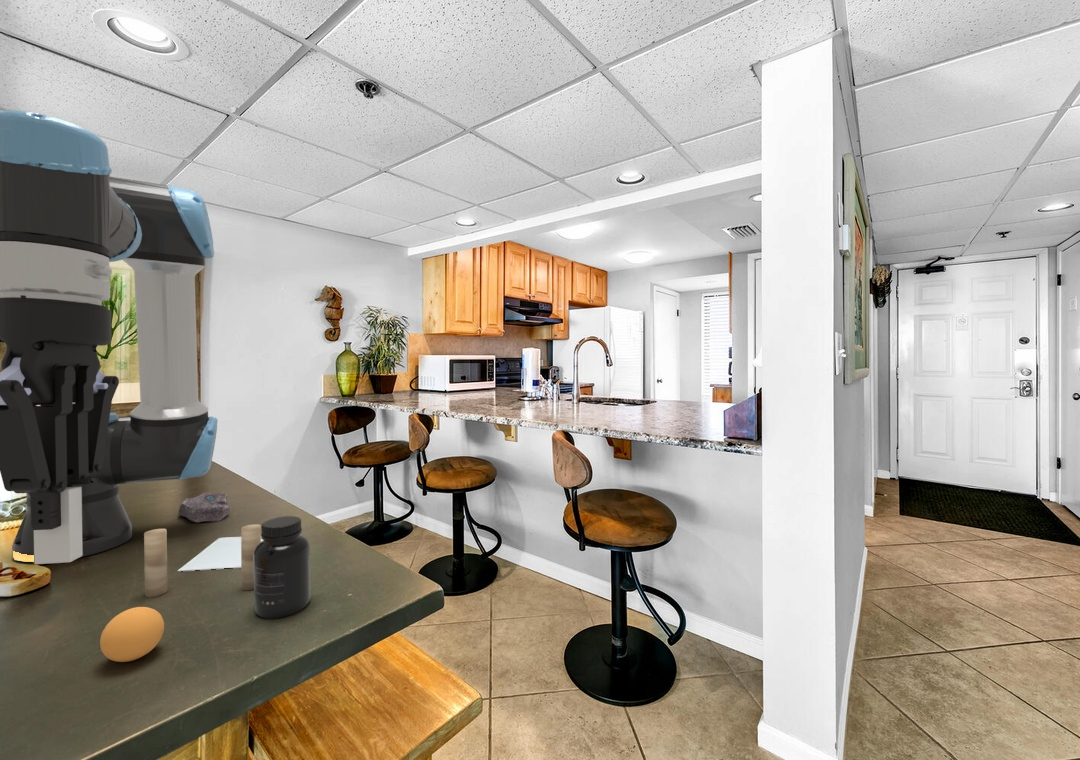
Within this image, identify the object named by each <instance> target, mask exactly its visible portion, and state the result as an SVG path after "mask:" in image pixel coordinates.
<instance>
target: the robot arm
mask: <svg viewBox="0 0 1080 760" xmlns="http://www.w3.org/2000/svg"><path fill="white" fill-rule="evenodd" d="M112 173H113V170H112V168H111V167H110V160H109V150H108V147H107V144H106V143H105V142H104V140H102V139H101V137H99V136H98V135H96V133H94V132H92V131H90V130H88V129H87V128H85V127H82V126H80V125H78V124H76V123H72V122H70V121H67V120H65V119H61V118H57V117H54V116H50V115H46V114H41V113H38V112H32V111H26V110H13V109H12V110H1V111H0V343H4V344H5V345H6V348H5V353H4V355H3V357H2V359H1V362H0V363H1V364H0V367H1V371H0V476H1V480H2V484H3V487H4V490H5V491H7V492H14V493H15V494H26V511H25V513H24V515H23V519H22V521H21V523H20V525H19V528H18V530H17V532H16V535H15V538H14V540H13V542H12V545H11V551H12V550H13V551H15V552H19V553H21V554H27V555H34V563H33V565H45V564H48V565H49V564H62V563H71V562H73V561H75V560H77V559H79V558H82V557H87V556H91V555H94V554H98V553H102V552H106V551H108V550H111V549H114V548H116V547H119V546H121V545H122V544H125V543H127V542H128V541H129V540H130V539H131V538H132V537H133V524H132V522H131V520H130V518H129V515H128V513H127V511H126V509H125V507H124V505H123V503H122V501H121V499H120V493H119V492H120V485H123V484H124V485H126V484H137V483H138V484H139V483H147V482H148V483H149V482H150V483H151V482H159V481H162V482H163V481H173V480H179V481H182V480H183V479H190V478H197V477H198V478H199V477H202V476H204V475H206V474H207V473H208V472H209V471H210V468H211V465H212V462H213V456H214V451H215V445H216V440H217V439H216V438H217V432H218V431H217V430H218V418H217V417H214V416H209V408H208V406H206V404H203V403H202V402H201V401H199V380H198V379H199V378H198V377H199V376H198V373H199V372H198V351H197V350H198V347H197V345H198V343H197V311H196V310H197V309H196V308H197V307H196V275H197V274H199V272H201V271H202V270H204V268H205V259H207V260H208V259H213V257H214V255H215V249H214V239H213V234H212V233H213V231H212V228H211V227H212V226H211V223H210V222H211V221H210V218H209V213H208V209H207V207H206V206H207V205H206V203H205V201H204V198H203V196H202V195H200V194H199V193H198V192H196V191H193V190H190V189H186V188H181V187H178V186H173V185H170V184H161V183H155V182H149V181H141V180H135V179H127V178H122V177H116V176H115V177H114V176H111V175H112ZM118 261H119V262H120V261H123V262H124V263H126V264H127V265H128V266H129V267H130V268H131V269H132V270H133V274H134V277H133V278H134V297H135V314H136V316H135V317H136V318H135V319H136V336H137V338H136V339H137V355H138V356H137V358H138V376H139V377H138V380H139V396H140V398H139V399H140V403H139V404H138V405H137V406H136V407H135V408H133V409H132V410H131V411H130V412H129V416H130V420H129V419H128V420H127V419H126V420H120V416H119V415H118V414H117V413H116V412H111V409H112V404H113V403H112V402H113V398H114V396H115V393H116V390H117V389H118V387H119V384H120V379H119V377H118V376H117V375H105V374H104V373H103V372H102V371H101V370H100V369H101V361H100V359H99V356H98V352H97V347H98V346H99V347H101V346H108V345H110V343H112V310H111V309H109V307H108V306H106V305H103V304H102V303H103V302H106V301H109V300H110V299H111V282H110V281H111V278H110V277H111V275H112V271H113V269H112V268H111V266H110V263H112V262H118Z"/></svg>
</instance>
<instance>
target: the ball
mask: <svg viewBox="0 0 1080 760" xmlns="http://www.w3.org/2000/svg"><path fill="white" fill-rule="evenodd" d="M164 631H165V621H164V617H163V616H162V614H161V613H160V612H159V611H157V610H156V609H154V608H151V607H147V606H136V607H131V608H129V609H126V610H124V611H122V612H119V614H117V615H116V616H114V617H112V619H111V620H110V621H109V622H108V623H107V624H106V625H105V627H104V629H103V630H102V632H101V635H100V640H99V645H100V646H99V647H100V651H101V652H102V654H103V655H104V656H105V657H106V658H107V659H109V660H111V661H113V662H117V663H118V662H119V663H126V662H127V663H128V662H132V661H136V660H137V659H140V658H142V657H144V656H145V655H148V654H149V653H150V652H151V651H152V650H153V649H154V648H155V647H156V646H157V645H158V643H159V642H160V641H161V639H162V636H163V634H164Z"/></svg>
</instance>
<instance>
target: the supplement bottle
mask: <svg viewBox="0 0 1080 760" xmlns="http://www.w3.org/2000/svg"><path fill="white" fill-rule="evenodd" d="M302 533H303V527H302V519H301V518H300V517H299V516H295V515H287V516H284V515H283V516H278V517H277V516H276V517H273V518H270V519H267V520H266V521H263V522H262V524H261V539H262V540H263V541H262V542H260V543H259V544H258V545H257V546H256V548H255V550H254V553H253V563H254V589H253V595H254V597H253V598H254V600H253V601H254V612H255V614H256V615H258V616H259V617H261V618H264V619H280V618H283V617H288V616H291V615H294V614H296V613H298V612H300V611H301V610H303V609H304V608H305V607H306V606H307V605H308V604H309V602H310V600H311V553H310V552H311V551H310V550H311V549H310V548H311V547H310V541H309V539H308V538H307V537H306V536H304V535H303V534H302Z"/></svg>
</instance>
